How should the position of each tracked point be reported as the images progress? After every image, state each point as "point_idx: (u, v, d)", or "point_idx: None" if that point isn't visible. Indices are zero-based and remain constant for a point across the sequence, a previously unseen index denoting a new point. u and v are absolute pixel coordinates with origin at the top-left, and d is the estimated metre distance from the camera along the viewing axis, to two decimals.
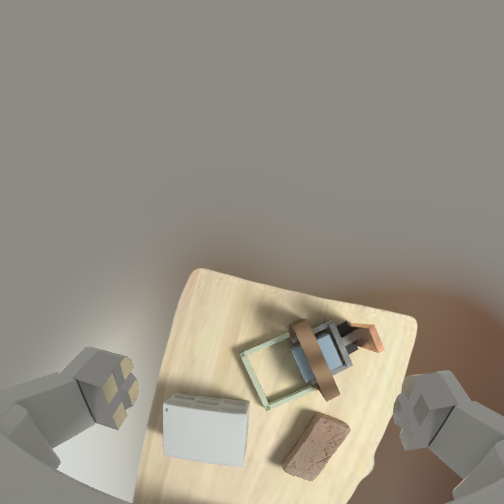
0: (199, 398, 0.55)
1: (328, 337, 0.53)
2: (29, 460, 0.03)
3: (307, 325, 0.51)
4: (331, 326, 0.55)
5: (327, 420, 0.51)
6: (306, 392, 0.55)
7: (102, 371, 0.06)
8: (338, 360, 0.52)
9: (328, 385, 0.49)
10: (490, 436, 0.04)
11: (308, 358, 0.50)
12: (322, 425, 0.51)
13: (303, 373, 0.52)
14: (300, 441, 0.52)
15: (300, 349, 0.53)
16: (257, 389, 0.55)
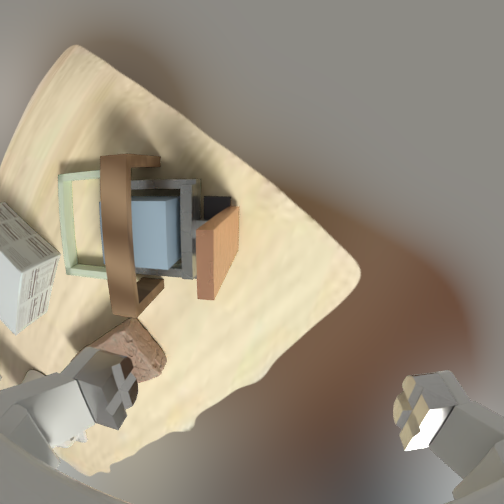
0: (12, 221, 0.33)
1: (161, 206, 0.27)
2: (29, 460, 0.03)
3: (122, 164, 0.24)
4: (183, 189, 0.28)
5: (132, 340, 0.34)
6: None
7: (102, 371, 0.06)
8: (163, 257, 0.28)
9: (121, 291, 0.27)
10: (490, 436, 0.04)
11: (103, 225, 0.25)
12: (122, 342, 0.34)
13: None
14: (98, 340, 0.37)
15: None
16: (63, 238, 0.33)
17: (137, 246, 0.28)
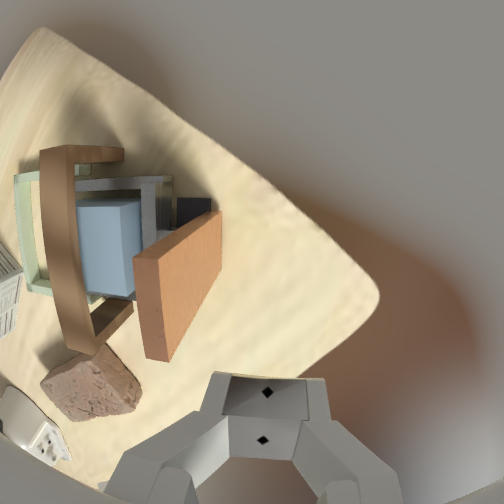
0: None
1: (115, 213, 0.19)
2: (29, 460, 0.03)
3: (62, 159, 0.16)
4: (144, 190, 0.20)
5: (99, 371, 0.26)
6: None
7: (254, 399, 0.06)
8: (121, 281, 0.21)
9: (72, 322, 0.19)
10: (339, 470, 0.04)
11: (45, 240, 0.18)
12: (89, 372, 0.26)
13: None
14: (66, 364, 0.29)
15: None
16: (21, 249, 0.25)
17: (89, 265, 0.20)
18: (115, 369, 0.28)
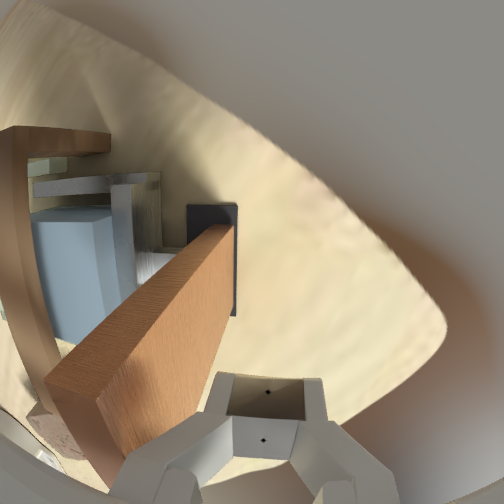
0: None
1: (86, 233, 0.12)
2: (29, 460, 0.03)
3: (7, 149, 0.08)
4: (116, 194, 0.13)
5: None
6: None
7: (258, 399, 0.06)
8: None
9: None
10: (336, 470, 0.04)
11: None
12: None
13: None
14: None
15: None
16: None
17: (58, 307, 0.13)
18: None
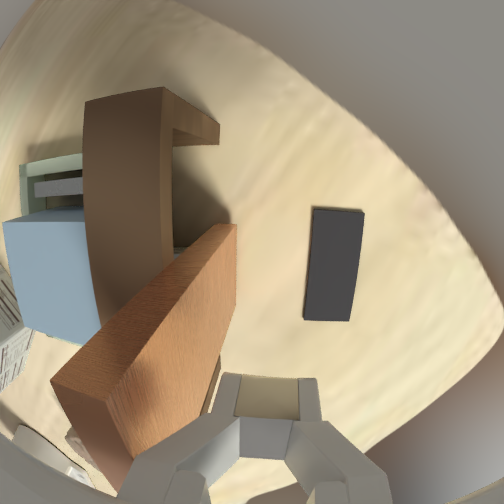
0: None
1: None
2: (29, 460, 0.03)
3: (148, 118, 0.08)
4: None
5: None
6: None
7: (265, 400, 0.06)
8: None
9: None
10: (329, 470, 0.04)
11: (99, 291, 0.09)
12: None
13: (19, 300, 0.13)
14: None
15: (16, 226, 0.12)
16: None
17: (61, 306, 0.13)
18: None
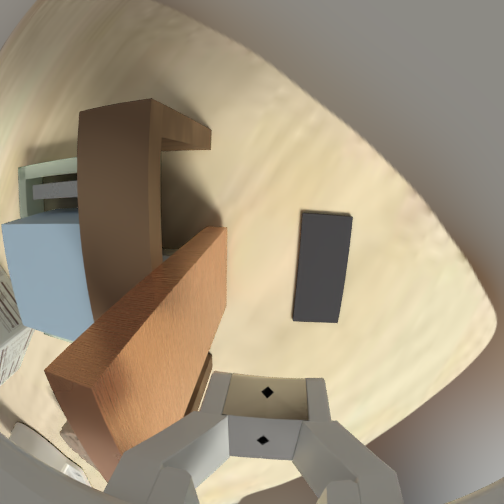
0: None
1: None
2: (29, 460, 0.03)
3: (137, 128, 0.08)
4: None
5: None
6: None
7: (254, 399, 0.06)
8: None
9: None
10: (340, 469, 0.04)
11: (92, 291, 0.10)
12: None
13: (17, 299, 0.14)
14: None
15: (15, 228, 0.12)
16: None
17: (57, 305, 0.13)
18: None
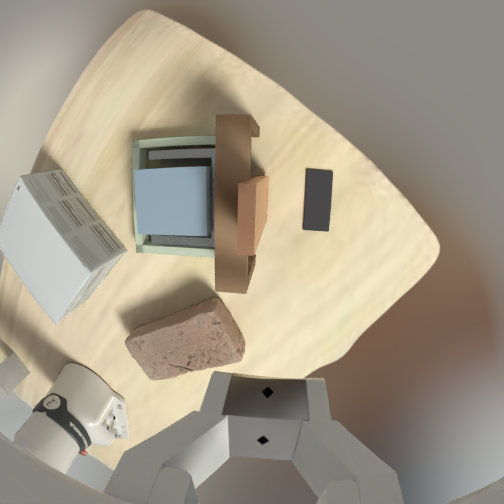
0: (73, 198, 0.33)
1: (202, 171, 0.27)
2: (29, 460, 0.03)
3: (245, 125, 0.23)
4: (214, 157, 0.28)
5: (219, 322, 0.34)
6: (205, 254, 0.34)
7: (254, 399, 0.06)
8: (202, 223, 0.29)
9: (231, 264, 0.27)
10: (340, 469, 0.04)
11: (217, 190, 0.25)
12: (208, 323, 0.34)
13: (138, 216, 0.29)
14: (168, 319, 0.37)
15: (148, 171, 0.28)
16: (135, 211, 0.33)
17: (174, 213, 0.29)
18: (229, 321, 0.36)
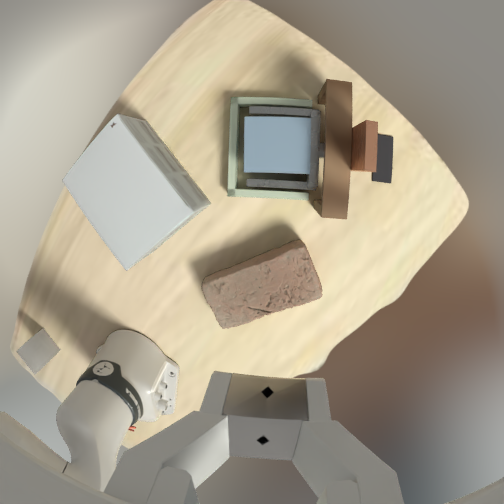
0: (162, 147, 0.38)
1: (307, 121, 0.32)
2: (29, 460, 0.03)
3: (348, 89, 0.28)
4: (313, 114, 0.33)
5: (308, 258, 0.38)
6: (296, 197, 0.38)
7: (254, 399, 0.06)
8: (307, 163, 0.33)
9: (337, 193, 0.31)
10: (339, 470, 0.04)
11: (328, 134, 0.30)
12: (297, 259, 0.38)
13: (246, 156, 0.34)
14: (252, 260, 0.41)
15: (258, 118, 0.32)
16: (230, 157, 0.38)
17: (282, 154, 0.33)
18: None
